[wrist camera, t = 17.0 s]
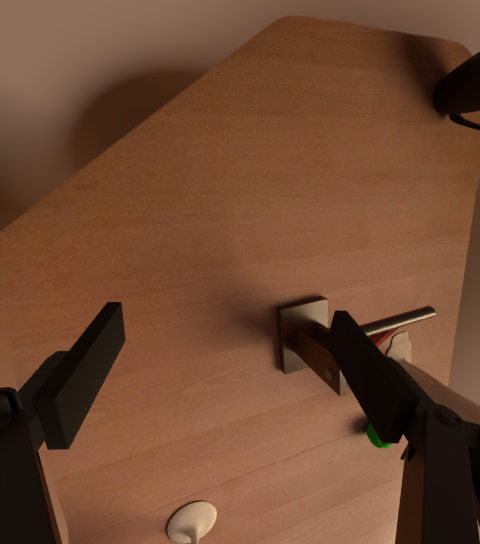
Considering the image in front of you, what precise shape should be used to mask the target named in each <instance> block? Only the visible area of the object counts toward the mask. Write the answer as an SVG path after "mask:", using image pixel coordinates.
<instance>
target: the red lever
mask: <svg viewBox="0 0 480 544" xmlns="http://www.w3.org/2000/svg"><path fill="white" fill-rule="evenodd" d="M435 314H436V312H435V310H434V308H432V307H430V306H426V307H423V308H419V309H416V310H412V311H409V312H405V313H402V314H398V315H395V316H391V317H388V318H385V319H381V320H378V321H374V322H371V323H367V324H364V325H360V328H361V329H362V330H363V331H364V332H365V333H366V335H367V336H368V337H369V336H370V337H369V338H370V339H371V341H372V342H373V343H374V344H375V345H376V346H377V347H378V346H379V345H380V344H381V343H382V342H383V341H385V340H386V339H387V338H388V337H389V336H390V335H391V334H392V333H393V332H394V331H396V330H397V329H398V328H399V327H402V326H405V325H408V324H412V323H415V322H418V321H421V320H425V319H428V318H431V317H434V316H435Z"/></svg>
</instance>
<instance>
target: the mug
mask: <svg viewBox="0 0 480 544" xmlns="http://www.w3.org/2000/svg"><path fill="white" fill-rule="evenodd" d="M433 102H434V106H435V108H436V110H437V111H438V112H439V113H440V114H449V118H450V119H451V120H452V121H453V122H455V123H457V124H460V125H463V126H466V127H469V128H473V129H477V130H480V124H477V123H474V122H471V121H468V120H466V119H464V118H463V117H462V116H461V113H468V112H475V111H480V52H478V53H477V54H475V55H474V56H472V57H471V58H469V59H468V60H466V61H465V62H463V63H462V64H461V65H459V66H458V67H457V68H455V69H454V70H453V71H452V72H451V73H449V74H448V75H447V76H446V77H444V78H443V79H441V80H440V81H439V82H438V84H437V85H436V87H435V90H434V95H433Z"/></svg>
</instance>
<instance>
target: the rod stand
mask: <svg viewBox="0 0 480 544" xmlns="http://www.w3.org/2000/svg"><path fill="white" fill-rule="evenodd" d="M277 317H278V330H279V344H280V358H281V371H282V372H283V373H284V374H288V373H292V372H295V371H298V370H301V369H304V368H307V367H310V368H311V369H312V370H313V371H314V372H315V373H316V374H317V375H318V376H319V377H320V378H321V379H322V380H324V381H325V382H326V383H327V384H328V385H329V386H330V387H331V388H332V389H333V390H334V391H335V392H336V393H337V394H338V395H339V396H342V395H344V394H346V380H345V378H344V376H343V374H342V373H341V371H340V369H339V367H338V366H337V364H336V362H335V361H334V359H333V357H332V355H331V354H330V352H329V350H328V348H327V347H326V342H327V338H328V335H329V331H330V329H329V328H328V299H327V298H325V297H319V298H315V299H311V300H307V301H302V302H298V303H294V304H290V305H286V306H281V307H277Z"/></svg>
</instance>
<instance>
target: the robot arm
mask: <svg viewBox="0 0 480 544" xmlns="http://www.w3.org/2000/svg"><path fill="white" fill-rule="evenodd" d="M124 342H125V331H124V322H123V313H122V303H121V302H107V303H106V305H105V306H104V307H103V309H102V310H101V311H100V312H99V314H98V315H97V316H96V317H95V319H94V320H93V321H92V322H91V324H90V325H89V326H88V327H87V329H86V330H85V331H84V333H83V334H82V335H81V336H80V338H79V339H78V340H77V341H76V343H75V344H74V345H73V346H72V348H71V349H70V350H69V351H57V352H56V353H54V354H53V355H51V356H50V357H48V358H47V359H46V360H45V361H44V362H43V363H42V365H41V366H40V367H39V369H37V370H36V371H35V373H34V374H33V375H32V377H30V378H29V380H28V381H27V382H26V383H25V384H24V385H23V386H22V388H21V389H20V390H19V391H18V392H17V391H16V390H15V389H14V388H10V387H4V388H0V544H62V542H61V537H60V533H59V530H58V526H57V522H56V518H55V515H54V511H53V506H52V503H51V499H50V495H49V491H48V487H47V484H46V479H45V475H44V471H43V468H42V464H41V460H40V456H39V453H38V450H39V448H40V447H41V445H42V444H43V442H44V440H45V442H46V446H47V449H48V450H56V449H69V448H70V446H71V444H72V442H73V440H74V438H75V436H76V434H77V432H78V431H79V429H80V427H81V425H82V423H83V421H84V419H85V417H86V415H87V413H88V411H89V409H90V408H91V406H92V404H93V402H94V400H95V398H96V396H97V394H98V392H99V390H100V388H101V386H102V385H103V383H104V381H105V379H106V377H107V375H108V373H109V371H110V369H111V367H112V365H113V363H114V362H115V360H116V358H117V356H118V354H119V352H120V350H121V348H122V346H123V344H124ZM326 347H327V348H328V350H329V352H330V354H331V355H332V357H333V359H334V361H335V362H336V364H337V366H338V367H339V369H340V371H341V373H342V374H343V376H344V378H345V380H346V381H347V383H348V385H349V387H350V388H351V390H352V392H353V394H354V395H355V397H356V399H357V401H358V402H359V404H360V406H361V407H362V409H363V411H364V413H365V414H366V416H367V418H368V420H369V421H370V423H371V425H372V427H373V428H374V430H375V432H376V434H377V435H378V437H379V439H380V440H381V442H382V444H390V443H399V441H400V439H401V437H402V435H403V434H404V436H405V437H406V439H407V440H408V442H409V443H408V445H407V446H406V448H405V450H404V452H403V454H402V456H401V458H400V459H401V460H404V458H405V461H404V470H403V478H402V487H401V496H400V504H399V513H398V522H397V531H396V539H395V544H480V541H479V532H478V524H477V520H478V523H479V526H480V425H479V424H476V423H472V422H468V421H464V420H462V418H461V417H460V416H459V415H458V414H457V413H455V412H454V411H453V410H451V409H449V408H448V407H446V406H444V405H441V404H437V403H435V402H434V401H433V400H432V399H431V398H430V397H429V396H428V395H427V393H426V392H425V391H424V390H423V389H422V388H421V387H420V386H419V384H418V383H417V382H416V381H415V380H413V378H412V377H411V375H410V374H409V373H407V371H406V370H405V369H404V368H403V366H402V365H401V364H400V363H398V362H397V361H396V360H394V359H393V358H391V357H385V356H384V355H383V354H382V352H381V351H380V350H379V349H378V348H377V346H376V345H375V344H374V343H373V342H372V341H371V339H370V338H369V337H368V336H367V335H366V333H365V332H364V331H363V330H362V329H361V328H360V326H359V325H358V324H357V323H356V322H355V320H354V319H353V318H352V317H351V316H350V314H349V313H348V312H347V311H335V313H334V316H333V320H332V324H331V327H330V331H329V335H328V338H327V342H326Z"/></svg>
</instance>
